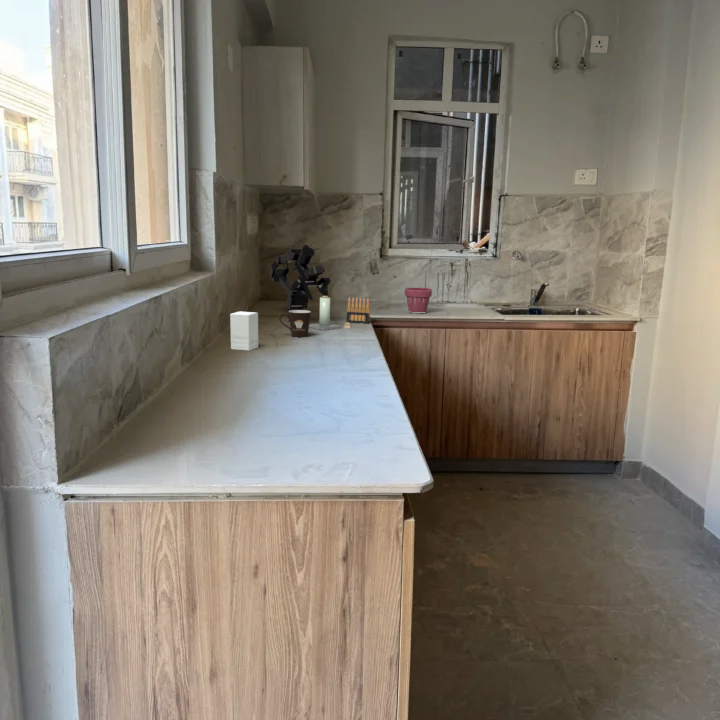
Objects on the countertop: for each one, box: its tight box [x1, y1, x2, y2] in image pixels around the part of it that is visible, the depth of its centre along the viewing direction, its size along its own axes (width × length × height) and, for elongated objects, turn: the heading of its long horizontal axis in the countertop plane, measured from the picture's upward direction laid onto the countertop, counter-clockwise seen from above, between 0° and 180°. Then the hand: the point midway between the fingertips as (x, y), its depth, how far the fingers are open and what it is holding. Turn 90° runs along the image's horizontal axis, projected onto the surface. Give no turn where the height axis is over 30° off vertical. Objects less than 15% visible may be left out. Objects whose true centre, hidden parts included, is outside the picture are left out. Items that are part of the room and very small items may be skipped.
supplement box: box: [229, 310, 259, 351], centre depth 215 cm, size 7×7×13 cm
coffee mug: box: [278, 309, 312, 339], centre depth 243 cm, size 12×9×10 cm
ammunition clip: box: [345, 296, 371, 325], centre depth 283 cm, size 11×2×12 cm, turn 78°
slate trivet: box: [309, 323, 343, 331], centre depth 267 cm, size 11×11×1 cm
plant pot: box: [404, 287, 433, 313], centre depth 326 cm, size 14×14×13 cm
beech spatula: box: [344, 321, 351, 329], centre depth 275 cm, size 13×2×1 cm, turn 1°
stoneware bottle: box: [318, 295, 331, 326], centre depth 266 cm, size 4×4×13 cm
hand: (320, 298), depth 268 cm, fingers open, 9 cm apart
